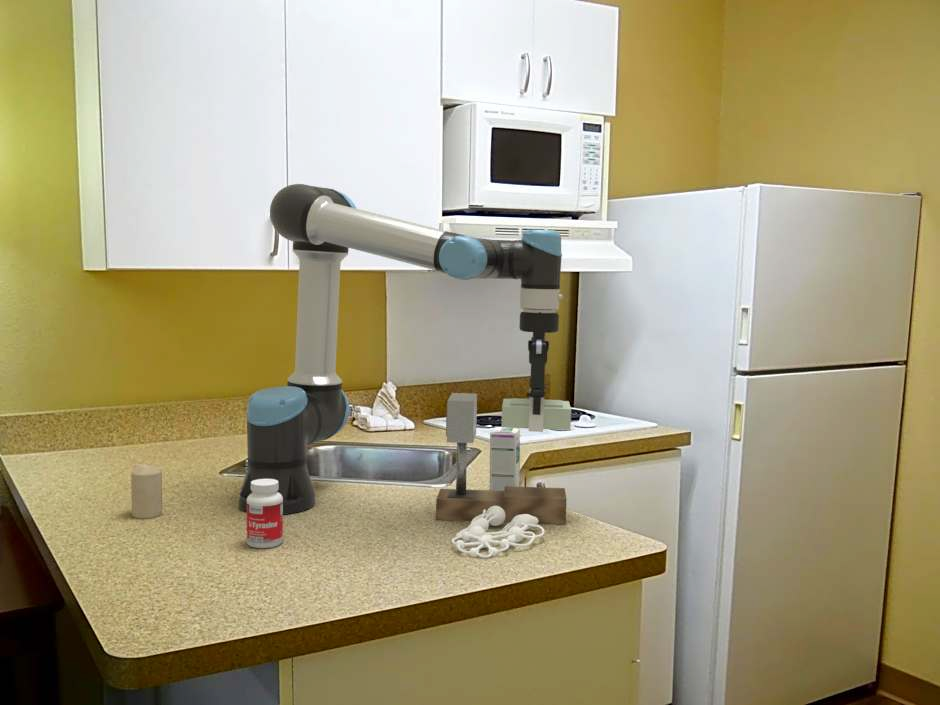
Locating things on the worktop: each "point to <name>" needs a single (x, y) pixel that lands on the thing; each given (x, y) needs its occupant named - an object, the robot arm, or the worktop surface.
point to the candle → (146, 491)
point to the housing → (504, 503)
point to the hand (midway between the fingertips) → (535, 426)
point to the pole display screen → (461, 431)
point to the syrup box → (504, 458)
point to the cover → (554, 416)
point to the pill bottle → (264, 514)
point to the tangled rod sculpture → (496, 518)
